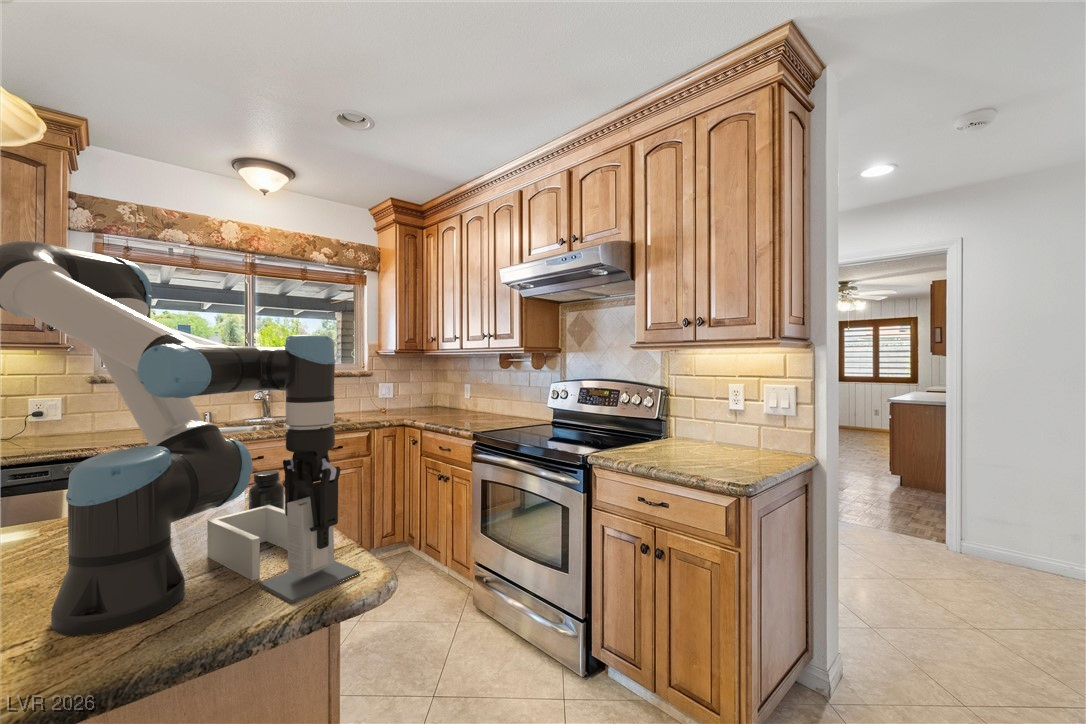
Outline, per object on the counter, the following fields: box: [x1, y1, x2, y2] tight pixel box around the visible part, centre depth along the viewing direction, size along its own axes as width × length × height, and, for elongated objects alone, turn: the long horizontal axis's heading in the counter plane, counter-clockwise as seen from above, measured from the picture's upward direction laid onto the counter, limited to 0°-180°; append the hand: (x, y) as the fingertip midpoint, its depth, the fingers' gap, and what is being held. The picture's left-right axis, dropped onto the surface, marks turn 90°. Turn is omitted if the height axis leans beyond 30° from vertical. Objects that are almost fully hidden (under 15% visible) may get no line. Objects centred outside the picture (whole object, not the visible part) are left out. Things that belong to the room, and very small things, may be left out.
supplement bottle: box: [248, 470, 285, 510], centre depth 107 cm, size 7×7×12 cm
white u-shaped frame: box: [206, 505, 288, 581], centre depth 91 cm, size 11×17×7 cm, turn 56°
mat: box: [258, 560, 361, 604], centre depth 82 cm, size 12×10×1 cm
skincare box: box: [287, 497, 335, 577], centre depth 82 cm, size 6×4×12 cm
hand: (310, 562), depth 82 cm, fingers closed on skincare box, 4 cm apart
